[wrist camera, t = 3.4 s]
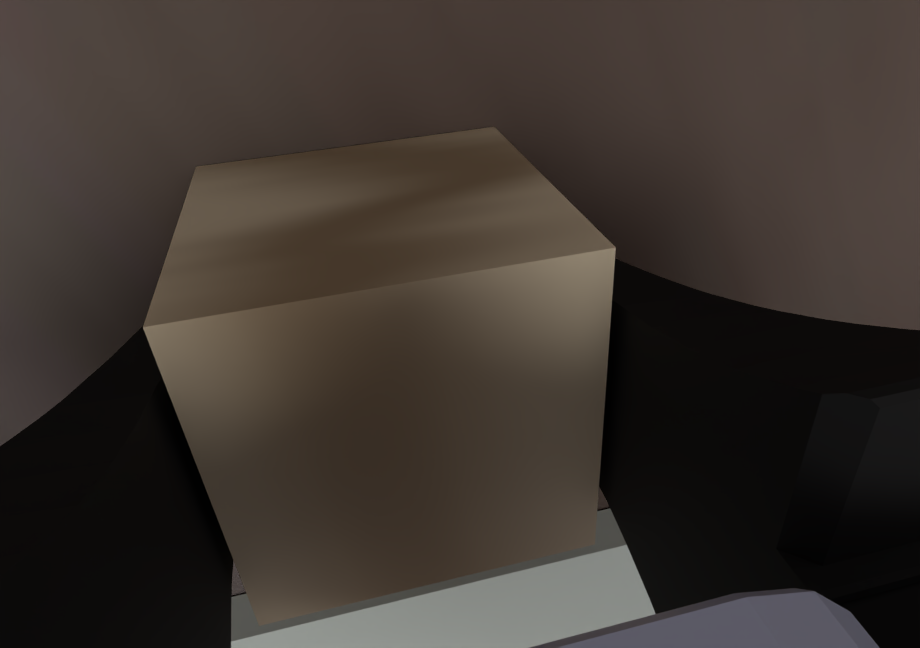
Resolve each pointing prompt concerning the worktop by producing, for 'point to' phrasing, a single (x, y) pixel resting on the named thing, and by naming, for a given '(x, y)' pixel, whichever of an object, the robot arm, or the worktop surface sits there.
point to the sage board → (476, 606)
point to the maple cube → (386, 364)
